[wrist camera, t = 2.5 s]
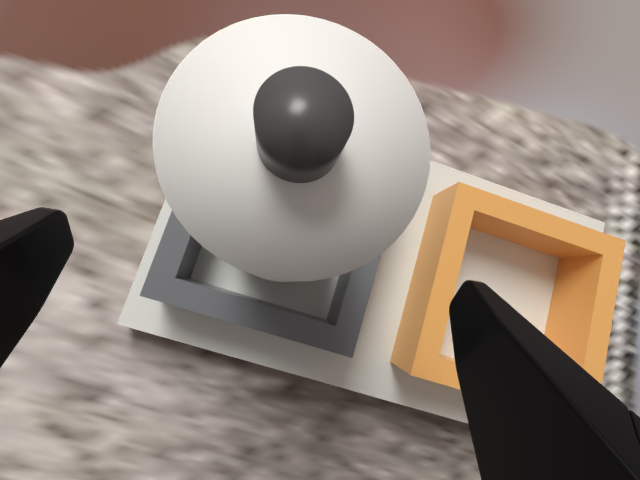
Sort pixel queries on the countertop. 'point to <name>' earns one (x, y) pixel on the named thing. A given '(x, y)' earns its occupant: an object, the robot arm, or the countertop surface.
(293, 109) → the white bottle
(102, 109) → the countertop surface
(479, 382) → the robot arm
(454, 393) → the dock
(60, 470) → the countertop surface
